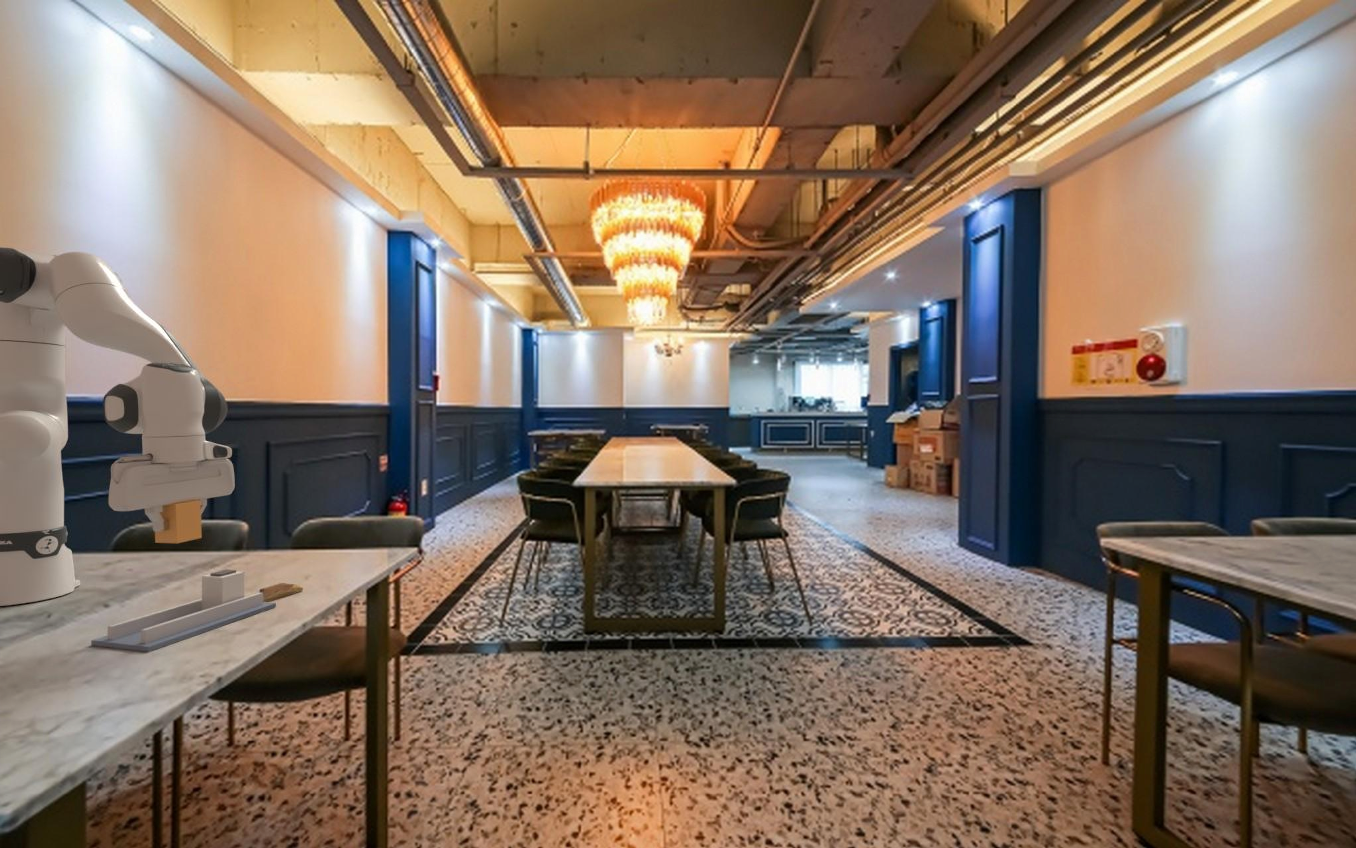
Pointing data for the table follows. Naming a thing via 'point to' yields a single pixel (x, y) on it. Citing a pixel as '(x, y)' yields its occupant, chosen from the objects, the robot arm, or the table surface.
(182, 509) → the block
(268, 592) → the shard
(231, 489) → the robot arm
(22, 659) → the table surface
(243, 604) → the rail panel
